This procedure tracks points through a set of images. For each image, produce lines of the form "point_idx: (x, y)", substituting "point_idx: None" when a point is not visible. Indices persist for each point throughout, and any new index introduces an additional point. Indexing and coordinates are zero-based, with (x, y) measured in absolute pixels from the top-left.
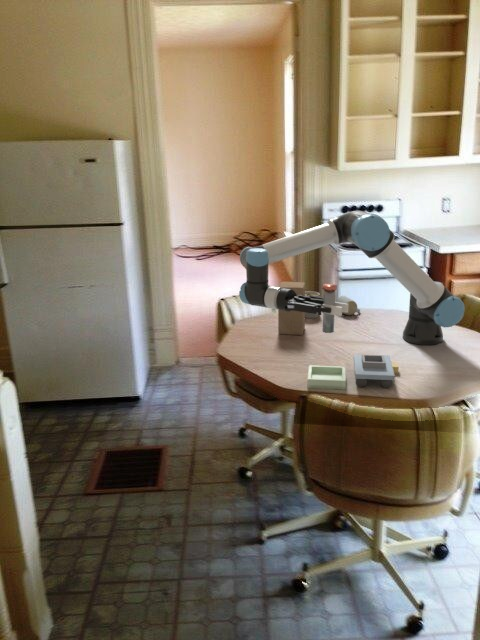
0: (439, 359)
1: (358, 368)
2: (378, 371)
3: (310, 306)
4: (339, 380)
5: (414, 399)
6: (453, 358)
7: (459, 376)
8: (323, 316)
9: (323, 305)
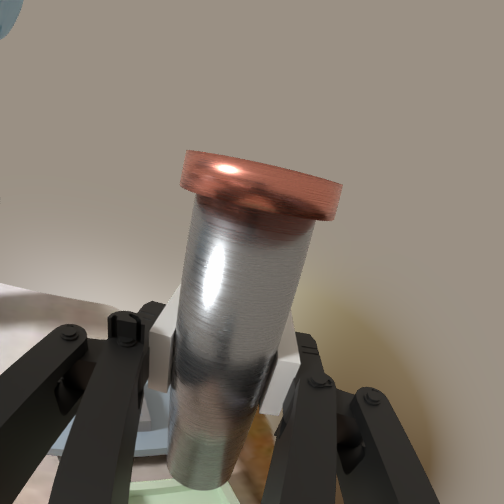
0: (12, 318)
1: (158, 440)
2: (162, 398)
3: (397, 428)
4: (228, 483)
5: None
6: (12, 304)
7: (84, 312)
8: (241, 435)
9: (296, 362)
